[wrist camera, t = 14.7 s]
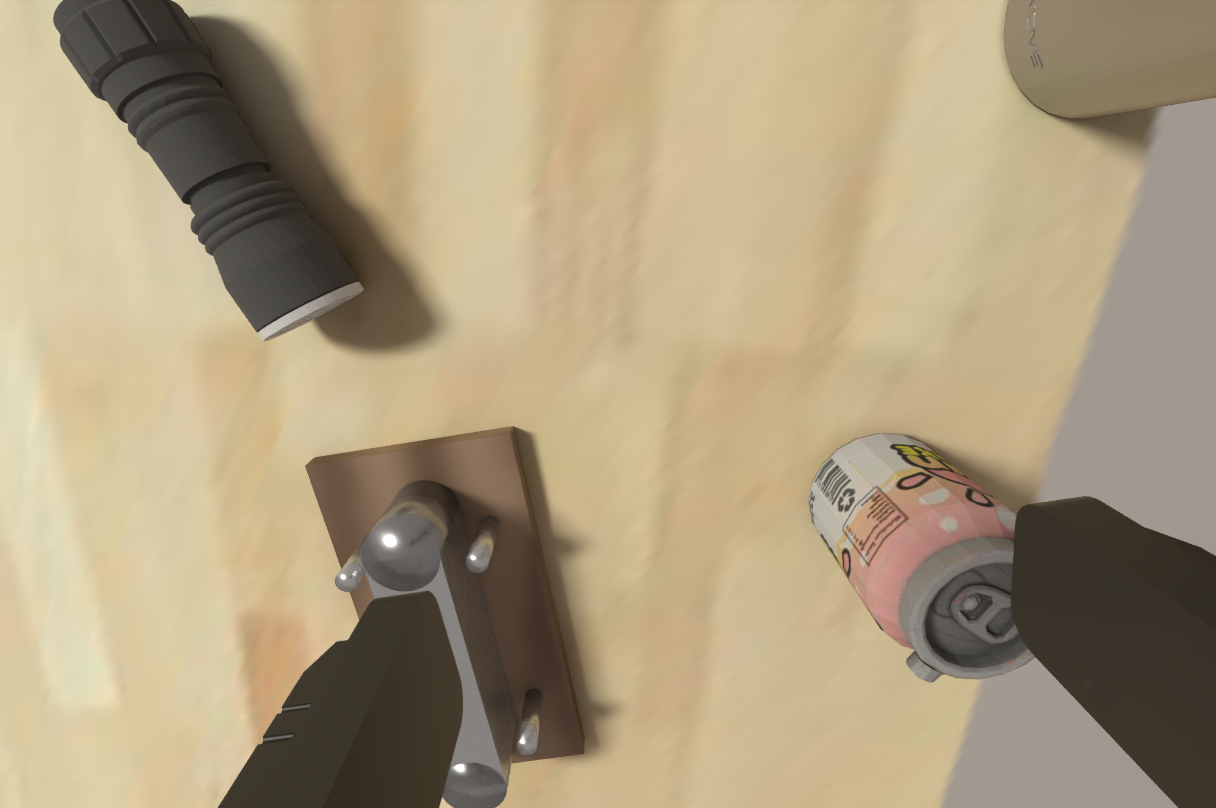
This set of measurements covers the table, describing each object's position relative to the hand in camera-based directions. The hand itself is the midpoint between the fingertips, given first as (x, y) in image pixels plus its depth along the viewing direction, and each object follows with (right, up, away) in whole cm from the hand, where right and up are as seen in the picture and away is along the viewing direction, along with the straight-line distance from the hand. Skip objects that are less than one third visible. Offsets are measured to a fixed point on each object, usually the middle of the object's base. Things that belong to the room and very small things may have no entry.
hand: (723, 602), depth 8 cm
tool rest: (-11, -11, +31) cm, 35 cm away
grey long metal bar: (-11, -11, +30) cm, 34 cm away
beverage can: (+15, -3, +29) cm, 33 cm away
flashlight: (-20, +14, +23) cm, 33 cm away
